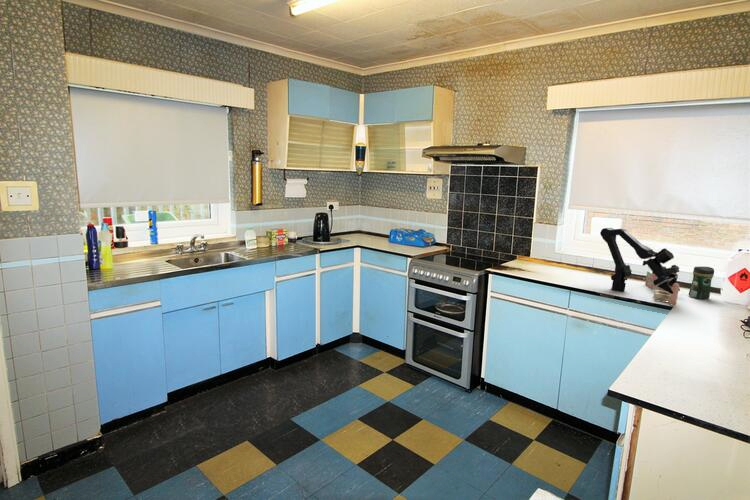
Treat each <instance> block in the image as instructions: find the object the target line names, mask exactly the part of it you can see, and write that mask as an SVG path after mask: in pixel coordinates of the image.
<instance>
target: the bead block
mask: <svg viewBox="0 0 750 500" xmlns="http://www.w3.org/2000/svg"><path fill="white" fill-rule="evenodd" d="M653 291H654V290H653ZM670 297H671V293H669V292H667V291H660V290H655V291H654V292H653V300H654V299H655V300H654V301H656V300H660V301H659V302H662V301H668V302H670ZM668 302H667V303H668Z"/></svg>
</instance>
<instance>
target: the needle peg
mask: <svg viewBox="0 0 750 500" xmlns="http://www.w3.org/2000/svg"><path fill="white" fill-rule="evenodd" d="M679 289H680V284H679V283H678V282H677V283H674V284H673V286H672V291H673V294H671V297H670V302H669V303H670V304H673V305H677V300H678V295H679V292H680V291H679ZM669 303H668V304H669Z"/></svg>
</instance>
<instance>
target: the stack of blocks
mask: <svg viewBox="0 0 750 500" xmlns="http://www.w3.org/2000/svg"><path fill="white" fill-rule="evenodd" d="M645 278H646V279H645V283H644V285H645V286H646V287H647V288H649V289H650V290H652V291H655V290H660V291H665V290H664V289H662V288H660V287H657V286H658V285H659V284H658V285H656V286H655V285H654V284H653V281H654V280H655V279H657V277H656V276H655V274H652V270H651V271H650V270H647V271H646V277H645ZM669 286H670V285H669ZM670 287H671V286H670ZM671 289H672V287H671Z"/></svg>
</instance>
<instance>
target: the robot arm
mask: <svg viewBox="0 0 750 500" xmlns="http://www.w3.org/2000/svg"><path fill="white" fill-rule="evenodd" d="M599 233H600V237H601V238H602V239H603V240H604V242H605V243H606V244H607V247H608V249H609V252H610V255H611V257H612V259H613V262H614V265H615V266H614V274H613V275H611V276H610V279H611V281H612V284H611V289H610V291H615V292H616V291H617V292H621V291H622V293H624V291H625V290H626V281H628V279H630V277H631V276H632V272H633V271H632V269H631V266H630V264H629V265H628V264H626V263H625V262H624V259H623V256H622V254H621V251H620V248H619V245H618V244H617V236H619V237H620V238H622V240H624V241H625V242H626V243H627V244H629V246H630V247H631V248H633V249H634V251H635V254H636V255H637V256H638V257H639V259H640V260H643V261H642V266H647V267H648V268H649V270H651V271H652V274H655V276H656V277H657V279H655V280H654V281H653V284H654V285H655V286H656V285H658V284H659V285H658V286H657V287H660V288H662V289H664V290H665V291H667V292H669V293H671V294H673V291H672V289H671V287H672V286H673V284H674V283H678V281H677V280H678V278H679V274H677V273H680V267H679V266H677V265H676V264H672V265H671V266H670V267H666V266H663V265H664V264H666V263H668V262H669V261H671V260H673V259H674V257H675V256H674V254H673V252H671V251H670V250H668V249H667V248H662V249H661V250H660V251H658V252H656V251H654V249H652V248H650V247H649V246H648V245H644V244H643V243H641V242H640V241H639V240H637V238H636V237H635V236H633V235H632V234H631V233H630V232H629V231H628V230H627V229H626V228H615V229H614V228H613V227H606V228H605V227H604V228H601V231H600V232H599ZM662 264H663V265H662ZM669 285H670V286H671V287H670V286H669ZM680 291H681V289H680V288H679V291H678V292H680Z"/></svg>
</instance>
